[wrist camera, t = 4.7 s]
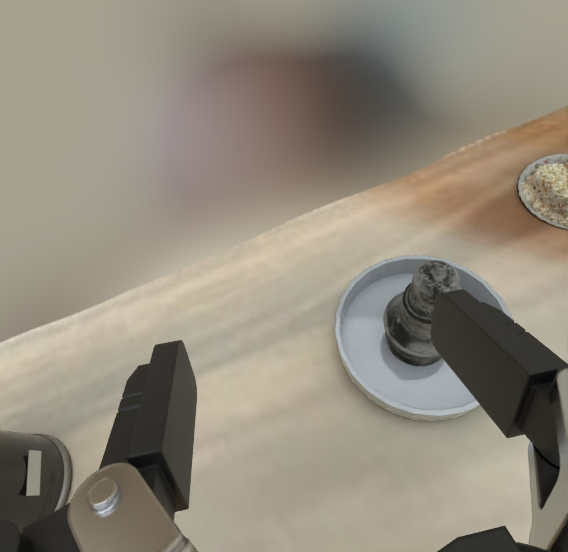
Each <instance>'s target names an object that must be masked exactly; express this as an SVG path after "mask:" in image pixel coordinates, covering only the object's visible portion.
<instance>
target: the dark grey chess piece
mask: <svg viewBox="0 0 568 552" xmlns="http://www.w3.org/2000/svg"><path fill="white" fill-rule="evenodd" d="M459 286H460V278H459V274H458V272H457V271H456V269H455V268H454V267H453V266H451V265H450V264H448V263H446V262H443V261H438V260H432V261H428V262H425V263H423V264H421V265H420V266H419V267H418V268H417V269H416V271H415V272H414V274H413V278H412V282H411V283H410V284H409V285H408V286H407V287H406V288H405V290H404V291H403V292H401V293H399V294H398V295H396V296H395V297H394V298H393V299H392V300H391V301H390V302H389V303H388V305H387V307H386V308H385V312H384V317H383V321H384V328H385V338H386V343H387V345H388V348H389V349H390V351H391V352H392V354H393V355H394V356H395V357H397V358H398V359H399V360H400V361H402V362H404V363H406V364H409V365H413V366H428V365H432V364H434V363H436V362H437V361H439V360H440V359H441V358H442V357H441V356H440V355H439V353H438V352H437V351H436V349H435V348H434V346H433V343H432V340H431V334H430V331H431V324H432V317H433V309H434V302H435V298H436V296H437V294H439V293H444V292H449V291H455V290H458V289H459Z"/></svg>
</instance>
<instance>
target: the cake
mask: <svg viewBox="0 0 568 552" xmlns="http://www.w3.org/2000/svg"><path fill="white" fill-rule="evenodd" d="M518 183H519V185H518V189H519V195H520V197H521V200H522V201H523V203H524V204H525V205H526V207H527V209H529V210H530V211H531V213H533V214H534V215H536V216H537V217H538V218H540V220H543V221H546V222H548V224H552V225H554V226H556V227H559V228H565V229H568V154H563V153H561V154H556V155H550V156H547V157H543V158H541V159H539V160H536V161H534V162H533V163H532V164H530V165H529V166H528V167H527V168H525V169H524V171H523V173H522V174H521V175H520V179H519V181H518Z"/></svg>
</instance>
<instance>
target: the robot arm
mask: <svg viewBox="0 0 568 552" xmlns="http://www.w3.org/2000/svg"><path fill="white" fill-rule="evenodd" d="M430 334H431V340H432V343H433V346H434V348H435V349H436V351H437V352H438V353H439V355H440V356H441V357H442V358H443V360H444V361H445V362H446V363H447V364H448V366H449V367H450V368H451V369H452V371H453V372H454V373H455V374H456V376H457V377H458V378H459V379H460V381H461V382H462V383H463V384H464V385H465V387H466V388H467V389H468V390H469V392H470V393H471V394H472V395H473V397H474V398H475V399H476V400H477V402H478V403H479V404H480V405H481V406H482V408H483V409H484V410H485V411H486V413H487V414H488V415H489V416H490V418H491V419H492V420H493V421H494V423H495V424H496V425H497V426H498V427H499V429H500V430H501V431H502V432H503V434H504V435H505V436H506V437H507V438H510V437H515V436H519V435H524V434H525V435H526V436H527V438H528V439H529V440H530V443H529V446H528V459H529V474H530V489H531V504H532V525H531V531H530V536H529V544H524V543H519V542H515V541H514V539H513V538H512V536H511V534H510V533H509V531H508V530H507V528H506V527H505V526H502V527H498V528H494V529H490V530H486V531H482V532H478V533H474V534H470V535H466V536H462V537H458V538H456V539H455V540H453V541H452V542H450V543H449V544H448V545H446V546H445V547H443V548H442V549H440V550H439V551H437V552H568V364H567V363H566V362H564V361H563V360H562V359H561V358H560V357H558V356H557V355H556V354H555V353H553V352H552V351H551V350H550V349H548V348H547V347H546V346H545V345H543V344H542V343H541V342H540V341H538V340H537V339H536V338H535V337H533V336H532V335H531V334H530V333H529V332H525V329H524V328H522V327H521V326H520V325H519V324H517V323H514V320H512V319H511V318H510V317H509V316H507V315H506V314H505V313H504V312H502V311H501V310H500V309H497V308H495V307H493V306H491V305H489V304H487V303H484V302H479V301H478V300H477V299H475V298H474V297H473V296H472V295H471V294H469V293H468V292H467V291H466V290H463V289H460V290H455V291H449V292H444V293H439V294H437V296H436V298H435V302H434V309H433V317H432V324H431V331H430ZM122 397H123V399H121V402H120V405H119V408H118V411H119V412H118V413H117V415H116V418H115V421H114V424H113V427H112V431H111V434H110V437H109V440H108V443H107V446H106V450H105V453H104V456H103V459H102V462H101V465H100V468H99V470H98V471H96V472H95V473H93V474H92V475H91V476H89V477H88V478H87V479H86V480H85V481H84V482H83V483H82V484H81V486H80V487H79V488H78V489H77V491H76V492H75V494H74V496H73V498H72V500H71V502H70V503H68V504H67V505H65V506H64V504H65V502H66V499H67V496H68V492H69V488H70V482H71V463H70V458H69V455H68V452H67V450H66V448H65V447H64V445H63V444H62V443H61V442H60V441H59V440H57V439H56V438H54V437H51V436H47V435H41V434H32V435H31V434H23V433H16V432H11V431H3V430H0V552H198V551H197V549H196V548H195V547H194V545H193V544H192V543H191V542H190V540H189V539H188V538H185V536H184V535H183V534H182V533H181V531H180V530H179V528H178V527H177V525H176V524H175V523H174V514H175V512H177V511H181V510H186V509H188V508H189V495H190V482H191V469H192V455H193V442H194V429H195V416H196V403H197V387H196V381H195V376H194V373H193V370H192V367H191V364H190V361H189V358H188V355H187V352H186V349H185V346H184V343H183V342H182V340H179V341H173V342H168V343H163V344H157V345H155V347H154V349H153V353H152V357H151V361H150V364H145V365H140V366H138V367H137V369H136V370H135V371H134V373H133V374H132V375H131V376H130V378H129V379H128V380H127V383H126V386H125V389H124V393H123V396H122Z"/></svg>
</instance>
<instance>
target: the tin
mask: <svg viewBox="0 0 568 552" xmlns="http://www.w3.org/2000/svg"><path fill="white" fill-rule="evenodd" d="M432 260H438V261H443V262H446V263H448V264H450V265H451V266H453V267H454V268H455V269H456V271H457V272H458V274H459V278H460V286H459V289H458V290H460V289H463V290H466V291H467V292H468V293H469V294H471V295H472V296H473V297H474V298H475V299H477V300H478V301H479V302H484V303H487V304H489V305H491V306H493V307H495V308H497V309H500V310H501V311H502V312H504V313H505V314H506V315H507V316H509V317H510V318H511V319H512V320H513V318H512V316H511V314H510V313H509V311H508V309H507V307H506V305H505V303H504V302H503V300H502V298H501V297H500V296H499V295H498V294H497V292H496V291H495V290H494V289H493V288H492V287H491V286H490V285H489V284H488V283H487V282H486V281H485V280H484V279H482V278H481V277H479V276H478V275H476V274H475V273H474V272H472V271H471V270H469V269H468V268H466V267H463V266H461V265H458V264H456V263H454V262H451V261H449V260H446V259H441V258H436V257H431V256H426V255H413V256H400V257H396V258H391V259H387V260H384V261H381V262H379V263H377V264H375V265H373V266H371V267H369V268H367V269H366V270H365V271H363V272H362V273H361V274H360V275H359V276H357V277H356V278H355V279H354V280H353V281H352V282H351V284H350V285H349V286H348V288H347V289H346V291H345V292H344V294H343V295H342V297H341V300H340V303H339V306H338V309H337V312H336V321H335V336H336V340H337V345H338V349H339V353H340V358H341V362H342V364H343V366H344V368H345V370H346V372H347V373H348V375H349V377H350V379H351V380H352V382H353V383H354V384H355V385H356V386H357V388H358V389H359V390H360V391H361V392H362V393H363V394H364V395H365V396H366V397H367V398H368V399H370V400H371V401H373V402H374V403H375V404H377V405H378V406H380V407H382V408H384V409H385V410H387V411H389V412H392V413H394V414H396V415H399V416H402V417H406V418H409V419H414V420H421V421H440V420H447V419H451V418H457V417H460V416H462V415H464V414H466V413H468V412H470V411H472V410H474V409H476V408H477V407H479V406H481V405H480V404H479V403H478V402H477V400H476V399H475V398H474V397H473V395H472V394H471V393H470V392H469V390H468V389H467V388H466V387H465V385H464V384H463V383H462V382H461V381H460V379H459V378H458V377H457V376H456V374H455V373H454V372H453V371H452V369H451V368H450V367H449V366H448V364H447V363H446V362H445V361H444V360H443V358H441V359H440V360H439V361H437V362H436V363H434V364H432V365H428V366H413V365H409V364H406V363H404V362H402V361H400V360H399V359H398V358H397V357H395V356H394V355H393V354H392V352H391V351H390V349H389V348H388V345H387V343H386V338H385V328H384V321H383V317H384V312H385V308H386V307H387V305H388V303H389V302H390V301H391V300H392V299H393V298H394V297H395V296H396V295H398V294H399V293H401V292H403V291H404V290H405V288H406V287H407V286H408V285H409V284H410V283H411V282H412V278H413V274H414V272H415V271H416V269H417V268H418V267H419V266H420V265H421V264H423V263H425V262H428V261H432Z"/></svg>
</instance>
